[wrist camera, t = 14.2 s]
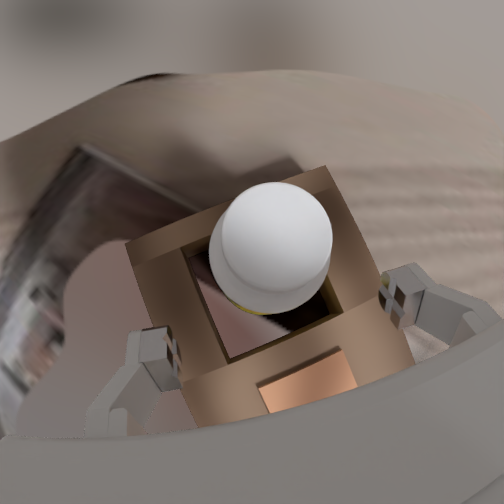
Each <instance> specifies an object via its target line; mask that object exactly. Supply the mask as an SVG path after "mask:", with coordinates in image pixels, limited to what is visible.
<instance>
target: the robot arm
mask: <svg viewBox="0 0 504 504" xmlns="http://www.w3.org/2000/svg"><path fill="white" fill-rule="evenodd" d="M380 281H381V282H382V284H383V285H382V286H381V287H380V289H379V294H378V297H379V303H380V305H381V307H382V309H383V310H384V312H386V313H389V314H390V320H391V322H392V323H393V324H394V326H395V327H396V329H397V330H401V329H404V328H406V327H409V326H412V325H415V326H417V327H419V328H421V329H422V330H424V331H426V332H427V333H429V334H431V335H433V336H434V337H436V338H438V339H439V340H441V341H443V342H445V343H446V344H448V345H450V346H449V349H447V350H445V351H443V352H441V353H439V354H437V355H435V356H433V357H430V358H428V359H426V360H424V361H422V362H419V363H417V364H415V365H413V366H410V367H408V368H406V369H403V370H401V371H399V372H396V373H394V374H391V375H389V376H386V377H384V378H381V379H379V380H376V381H373V382H371V383H368V384H365V385H363V386H360V387H357V388H354V389H351V390H348V391H345V392H343V393H340V394H336V395H333V396H330V397H327V398H324V399H321V400H317V401H314V402H311V403H307V404H304V405H300V406H297V407H293V408H289V409H286V410H282V411H278V412H274V413H270V414H266V415H261V416H257V417H253V418H248V419H244V420H239V421H234V422H229V423H224V424H218V425H213V426H207V427H201V428H195V429H188V430H181V431H173V432H166V433H157V434H148V433H147V432H146V431H145V430H144V429H143V428H144V426H145V425H146V423H147V421H148V419H149V417H150V415H151V413H152V411H153V409H154V408H155V406H156V404H157V402H158V400H159V398H160V396H161V394H162V393H161V392H165V391H171V390H176V389H182V388H183V374H182V372H181V370H180V366H181V365H182V359H181V353H180V349H179V346H178V343H177V341H176V340H175V339H173V333H172V330H171V328H170V326H169V325H164V326H158V327H152V328H146V329H142V330H136V331H130V332H129V334H128V339H127V349H126V357H125V366H121V367H120V368H119V369H118V371H117V372H116V373H115V374H114V376H113V377H112V378H111V380H110V381H109V382H108V383H107V385H106V386H105V387H104V389H103V390H102V391H101V392H100V394H99V395H98V396H97V398H96V399H95V400H94V401H93V403H92V404H91V405H90V407H89V408H88V409H87V414H86V421H85V430H84V438H42V437H26V436H16V435H8V436H5V437H3V438H2V439H1V440H0V504H504V319H502V318H501V317H500V316H499V315H498V314H497V313H496V312H495V311H494V309H493V308H492V307H491V306H490V305H489V304H488V303H487V302H485V301H483V300H480V299H478V298H475V297H473V296H470V295H467V294H465V293H462V292H460V291H457V290H454V289H452V288H449V287H446V286H444V285H441V284H440V285H437V284H436V283H435V282H434V281H433V280H432V279H431V278H430V277H429V276H428V275H427V273H426V272H425V271H424V270H423V269H422V268H421V267H420V266H419V265H418V264H417V263H414V262H413V263H410V264H407V265H404V266H401V267H398V268H395V269H392V270H388V271H385V272H383V273H382V274H381V278H380Z"/></svg>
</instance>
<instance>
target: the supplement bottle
mask: <svg viewBox="0 0 504 504" xmlns="http://www.w3.org/2000/svg"><path fill="white" fill-rule="evenodd" d="M331 248H332V228H331V223H330V221H329V218H328V216H327V213H326V211H325V210H324V208H323V207H322V205H321V204H320V203H319V202H318V201H317V200H316V199H315V198H314V197H313V196H312V195H311V194H310V193H308V192H307V191H305V190H303V189H301V188H300V187H297V186H295V185H292V184H288V183H281V182H268V183H263V184H259V185H256V186H253V187H251V188H249V189H247V190H245V191H244V192H242V193H241V194H240V195H239V196H237V198H236V199H235V200H234V201H233V202H232V203H231V204H230V206H229V207H228V209H227V210H226V211H225V212H224V213H223V214H222V216H221V217H220V219H219V220H218V222H217V224H216V226H215V228H214V230H213V233H212V235H211V239H210V244H209V260H210V266H211V270H212V273H213V275H214V278H215V280H216V282H217V284H218V286H219V287H220V289H221V290H222V291H223V293H224V294H225V296H226V297H227V299H228V300H229V301H230V302H231V303H232V304H234V305H235V306H236V307H238V308H239V309H241V310H243V311H245V312H248V313H251V314H257V315H267V314H275V313H281V312H285V311H289V310H292V309H294V308H296V307H298V306H300V305H302V304H303V303H305V302H306V301H308V300H309V299H310V298H311V297H312V296H313V295H314V294H315V293H316V292H317V291H318V289H319V288H320V287H321V285H322V283H323V281H324V280H325V277H326V275H327V272H328V269H329V265H330V257H331Z"/></svg>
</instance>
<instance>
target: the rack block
mask: <svg viewBox="0 0 504 504" xmlns="http://www.w3.org/2000/svg"><path fill="white" fill-rule="evenodd" d="M279 182H281V183H288V184H292V185H295V186H297V187H300V188H301V189H303V190H305V191H307V192H308V193H310V194H311V195H312V196H313V197H314V198H315V199H316V200H317V201H318V202H319V203H320V204H321V205H322V207H323V208H324V210H325V211H326V213H327V216H328V218H329V221H330V223H331V228H332V248H331V257H330V265H329V269H328V272H327V275H326V277H325V280H324V281H323V283H322V285H321V287H320V288H319V291H320V293H321V295H322V297H323V300H324V302H325V304H326V306H327V309H328V311H329V313H330V315H328V316H326V317H324V318H321V319H319V320H317V321H315V322H313V323H311V324H309V325H307V326H304V327H302V328H300V329H298V330H296V331H294V332H291V333H289V334H287V335H285V336H282V337H280V338H278V339H276V340H273V341H271V342H269V343H266V344H264V345H262V346H259V347H257V348H255V349H253V350H250V351H248V352H245V353H243V354H240V355H238V356H235V357H233V358H231V359H230V358H229V356H228V353H227V351H226V349H225V347H224V344H223V342H222V340H221V338H220V335H219V333H218V330H217V328H216V326H215V323H214V321H213V319H212V316H211V314H210V311H209V309H208V306H207V304H206V302H205V299H204V297H203V294H202V292H201V290H200V287H199V284H198V282H197V279H196V277H195V274H194V272H193V269H192V266H191V264H190V261H189V259H188V258H189V257H191V256H194V255H196V254H199V253H201V252H204V251H206V250H208V249H209V244H210V239H211V235H212V233H213V230H214V228H215V226H216V224H217V222H218V220H219V219H220V217H221V216H222V214H223V213H224V212H225V211H226V210H227V209H228V207H229V206H230V204H231V203H232V202H233V201H234V200H235V199H236V198H237V197H236V198H234V199H231V200H229V201H226V202H224V203H221V204H218V205H216V206H213V207H211V208H208V209H206V210H203V211H201V212H198V213H196V214H194V215H191V216H189V217H186V218H184V219H181V220H179V221H177V222H174V223H172V224H169V225H167V226H165V227H162V228H160V229H158V230H155V231H153V232H151V233H148V234H146V235H144V236H141V237H139V238H137V239H134V240H132V241H130V242H128V243H125V246H126V249H127V253H128V255H129V259H130V262H131V265H132V268H133V271H134V274H135V277H136V280H137V283H138V286H139V289H140V291H141V294H142V297H143V300H144V303H145V305H146V308H147V311H148V313H149V316H150V319H151V321H152V324H153V326H154V327H158V326H164V325H169V326H170V328H171V330H172V333H173V339H175V340H176V341H177V343H178V346H179V349H180V353H181V359H182V365H181V366H180V370H181V372H182V374H183V388H182V389H180V390H181V392H182V395H183V397H184V399H185V401H186V403H187V405H188V407H189V409H190V412H191V413H192V416H193V418H194V420H195V422H196V424H197V426H198V428H201V427H207V426H213V425H218V424H224V423H229V422H234V421H239V420H244V419H248V418H253V417H257V416H261V415H266V414H270V413H274V412H278V411H282V410H286V409H289V408H293V407H297V406H300V405H304V404H307V403H311V402H314V401H317V400H321V399H324V398H327V397H330V396H333V395H336V394H340V393H343V392H345V391H348V390H351V389H354V388H357V387H360V386H363V385H365V384H368V383H371V382H373V381H376V380H379V379H381V378H384V377H386V376H389V375H391V374H394V373H396V372H399V371H401V370H403V369H406V368H408V367H410V366H413V365H415V362H414V359H413V356H412V353H411V350H410V348H409V345H408V342H407V340H406V337H405V334H404V332H403V329H401V330H397V329H396V327H395V326H394V324H393V323H392V322H391V320H390V314H389V313H386V312H384V310H383V309H382V307H381V305H380V303H379V297H378V294H379V289H380V287H381V286H382V285H383V284H382V282H381V281H380V278H381V276H380V274H379V271H378V269H377V267H376V265H375V263H374V260H373V258H372V256H371V254H370V252H369V250H368V247H367V245H366V243H365V241H364V239H363V237H362V235H361V233H360V231H359V229H358V227H357V225H356V223H355V221H354V219H353V217H352V215H351V213H350V211H349V209H348V207H347V205H346V203H345V201H344V199H343V197H342V195H341V193H340V191H339V189H338V187H337V186H336V184H335V182H334V180H333V178H332V176H331V175H330V173H329V171H328V169H327V167H326V165H324V166H321V167H319V168H316V169H313V170H310V171H307V172H304V173H301V174H299V175H296V176H293V177H290V178H287V179H285V180H282V181H279Z"/></svg>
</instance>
